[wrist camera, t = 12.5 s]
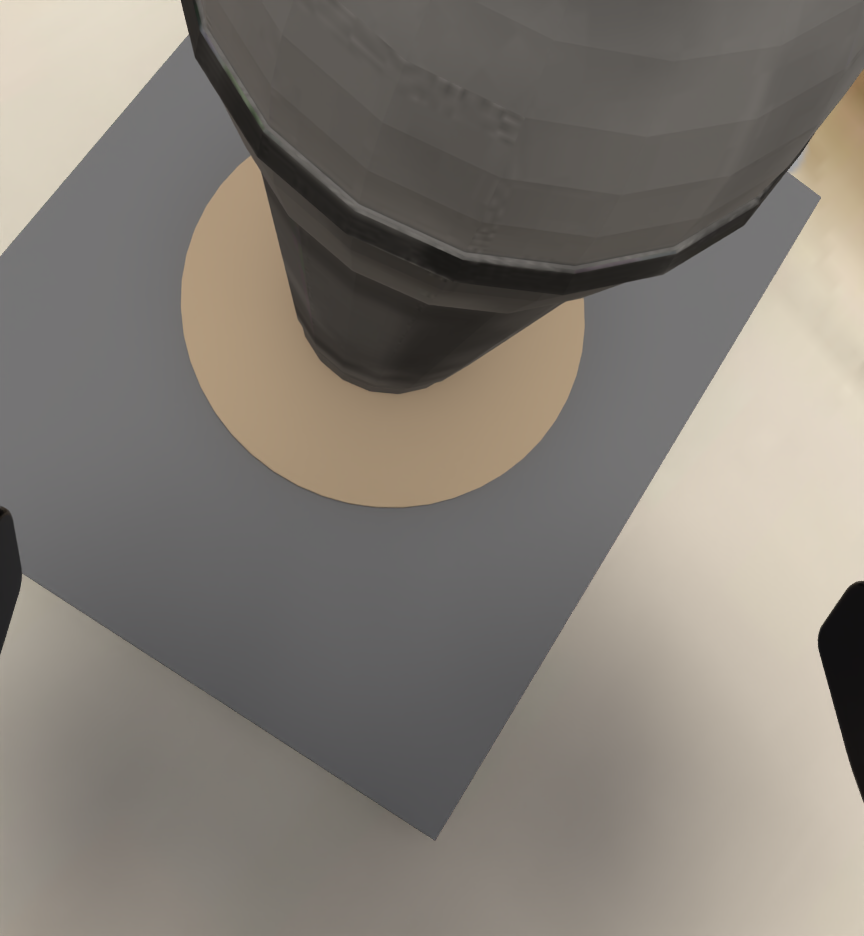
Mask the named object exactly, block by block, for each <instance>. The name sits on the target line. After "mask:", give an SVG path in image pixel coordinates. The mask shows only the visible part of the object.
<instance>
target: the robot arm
mask: <svg viewBox="0 0 864 936" xmlns="http://www.w3.org/2000/svg"><path fill="white" fill-rule="evenodd" d="M21 579H22V567H21V561H20V555H19V549H18V544H17V538H16V533H15V527H14V521H13V517H12V515H11V513H10V511H9V510H8V509H7V508H5V507H2V506H0V654H1V651H2V647H3V644H4V641H5V637H6V634H7V631H8V628H9V624H10V621H11V618H12V614H13V611H14V608H15V604H16V601H17V598H18V595H19V591H20V586H21ZM818 649H819V653H820V657H821V660H822V664H823V668H824V671H825V675H826V679H827V682H828V686H829V689H830V693H831V697H832V700H833V704H834V708H835V711H836V715H837V719H838V722H839V726H840V730H841V733H842V737H843V741H844V744H845V748H846V752H847V755H848V758H849V762H850V765H851V768H852V771H853V774H854V777H855V780H856V783H857V786H858V788H859V791H860V794H861V797H862V799H863V802H864V581H858V582H855V583H854V584H852V585H850V586H849V587H848V588H847V590H846V591H845V593H844V594H843V595H842V597H841V598H840V600H839V601H838V603H837V604H836V606H835V607H834V609H833V610H832V611H831V613H830V614H829V616H828V617H827V619H826V620H825V622H824V623H823V625H822V626H821V628H820V631H819V634H818Z"/></svg>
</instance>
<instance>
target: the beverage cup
mask: <svg viewBox="0 0 864 936" xmlns="http://www.w3.org/2000/svg"><path fill="white" fill-rule="evenodd" d="M181 3H182V7H183V11H184V16H185V20H186V24H187V28H188V32H189V36H190V40H191V44H192V48H193V52H194V56H195V59H196V60H197V62H198V64H199V65H200V67H201V68H202V70H203V71H204V73H205V75H206V76H207V78H208V79H209V81H210V83H211V84H212V86H213V87H214V89H215V91H216V92H217V94H218V95H219V97H220V99H221V100H222V102H223V104H224V106H225V108H226V110H227V112H228V114H229V116H230V118H231V120H232V122H233V124H234V126H235V127H236V129H237V131H238V133H239V135H240V137H241V139H242V141H243V143H244V145H245V147H246V148H247V150H248V152H249V153H250V155H251V156H252V158H253V160H254V161H255V163H256V164H257V166H258V168H259V169H260V171H261V174H262V178H263V182H264V186H265V190H266V194H267V198H268V202H269V206H270V210H271V214H272V218H273V222H274V226H275V230H276V234H277V238H278V242H279V246H280V250H281V254H282V258H283V262H284V266H285V270H286V274H287V278H288V282H289V286H290V291H291V295H292V299H293V303H294V307H295V311H296V315H297V319H298V321H299V322H300V324H301V326H302V327H303V331H304V335H305V337H306V339H307V340H308V342H309V343H310V345H311V347H312V348H313V350H314V351H315V353H316V355H317V356H318V358H319V359H320V361H321V362H322V363H324V364H325V365H326V366H327V367H328V368H329V369H331V370H332V371H333V372H334V373H335V374H336V375H338V376H339V377H340V378H341V379H342V380H344V381H347V382H349V383H351V384H354V385H356V386H358V387H361V388H363V389H365V390H368V391H371V392H381V393H391V394H402V393H407V392H411V391H416V390H420V389H425V388H428V387H429V386H431V385H433V384H434V383H437V382H441V381H443V380H445V379H446V378H448V377H450V376H451V375H453V374H455V373H456V372H458V371H460V370H461V369H463V368H465V367H466V366H468V365H470V364H471V363H473V362H474V361H476V360H477V359H479V358H480V357H482V356H483V355H485V354H487V353H488V352H490V351H491V350H493V349H494V348H496V347H497V346H499V345H500V344H502V343H503V342H505V341H506V340H508V339H509V338H511V337H512V336H514V335H515V334H517V333H518V332H520V331H522V330H523V329H525V328H526V327H528V326H529V325H531V324H532V323H534V322H535V321H537V320H538V319H540V318H541V317H543V316H544V315H546V314H547V313H549V312H550V311H552V310H553V309H555V308H557V307H558V306H560V305H561V304H563V303H564V302H566V301H571V300H576V299H581V298H584V297H586V296H589V295H592V294H595V293H598V292H601V291H603V290H606V289H609V288H612V287H615V286H618V285H620V284H623V283H626V282H631V281H636V280H641V279H646V278H650V277H655V276H660V275H664V274H665V273H667V272H669V271H670V270H672V269H674V268H675V267H677V266H679V265H680V264H682V263H684V262H685V261H687V260H688V259H690V258H692V257H693V256H695V255H697V254H698V253H700V252H702V251H703V250H705V249H707V248H708V247H710V246H711V245H713V244H715V243H716V242H718V241H720V240H721V239H723V238H725V237H726V236H728V235H730V234H731V233H733V232H735V231H736V230H738V229H739V228H741V227H743V226H744V225H745V224H746V223H747V222H748V220H749V219H750V218H751V216H752V215H753V214H754V213H755V211H756V210H757V209H758V208H759V206H760V205H761V204H762V202H763V201H764V200H765V199H766V197H767V196H768V195H769V194H770V192H771V191H772V190H773V189H774V187H775V186H776V185H777V183H778V182H779V181H780V180H781V178H782V177H783V176H784V175H785V173H786V172H787V171H788V169H789V168H790V167H791V166H792V164H793V163H794V162H795V161H796V159H797V158H798V157H799V156H800V154H801V153H802V151H803V150H804V148H805V147H806V145H807V144H808V142H809V141H810V139H811V138H812V136H813V135H814V133H815V132H816V130H817V129H818V128H819V127H820V125H821V124H822V123H823V121H824V120H825V119H826V118H827V116H828V115H829V114H830V113H831V111H832V110H833V109H834V107H835V106H836V105H837V104H838V102H839V101H840V100H841V99H842V97H843V96H844V95H845V94H846V92H847V91H848V89H849V88H850V87H851V85H852V84H853V83H854V81H855V80H856V78H857V77H858V76H859V74H860V73H861V71H862V70H863V69H864V0H181Z"/></svg>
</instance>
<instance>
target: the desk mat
mask: <svg viewBox="0 0 864 936" xmlns="http://www.w3.org/2000/svg"><path fill="white" fill-rule="evenodd" d="M820 199H821V197H820V196H819V195H818V194H816V193H815V192H814V191H812V190H811V189H810V188H808V187H807V186H806V185H804V184H803V183H802V182H800V181H799V180H798V179H796V178H795V177H794V176H792V175H791V174H790V173H788V172H786V173H785V175H784V176H783V177H782V178H781V180H780V181H779V182H778V183H777V185H776V186H775V187H774V189H773V190H772V191H771V192H770V194H769V195H768V196H767V197H766V199H765V200H764V201H763V202H762V204H761V205H760V206H759V208H758V209H757V210H756V211H755V213H754V214H753V215H752V216H751V218H750V219H749V220H748V222H747V223H746V224H745V225H744V226H743V227H741V228H739V229H738V230H736V231H735V232H733V233H731V234H730V235H728V236H726V237H725V238H723V239H721V240H720V241H718V242H716V243H715V244H713V245H711V246H710V247H708V248H707V249H705V250H703V251H702V252H700V253H698V254H697V255H695V256H693V257H692V258H690V259H688V260H687V261H685V262H684V263H682V264H680V265H679V266H677V267H675V268H674V269H672V270H670V271H669V272H667V273H665V274H664V275H660V276H655V277H650V278H646V279H641V280H636V281H631V282H626V283H623V284H620V285H618V286H615V287H612V288H609V289H606V290H603V291H601V292H598V293H595V294H592V295H589V296H586V297H584V298H581V299H576V300H571V301H566V302H564V303H563V304H561V305H560V306H558V307H557V308H555V309H553V310H552V311H550V312H549V313H547V314H546V315H544V316H543V317H541V318H540V319H538V320H537V321H535V322H534V323H532V324H531V325H529V326H528V327H526V328H525V329H523V330H522V331H520V332H518V333H517V334H515V335H514V336H512V337H511V338H509V339H508V340H506V341H505V342H503V343H502V344H500V345H499V346H497V347H496V348H494V349H493V350H491V351H490V352H488V353H487V354H485V355H483V356H482V357H480V358H479V359H477V360H476V361H474V362H473V363H471V364H470V365H468V366H466V367H465V368H463V369H461V370H460V371H458V372H456V373H455V374H453V375H451V376H450V377H448V378H446V379H445V380H443V381H441V382H437V383H434V384H433V385H431V386H429V387H428V388H425V389H420V390H416V391H411V392H407V393H402V394H391V393H381V392H371V391H368V390H365V389H363V388H361V387H358V386H356V385H354V384H351V383H349V382H347V381H344V380H342V379H341V378H340V377H339V376H338V375H336V374H335V373H334V372H333V371H332V370H331V369H329V368H328V367H327V366H326V365H325V364H324V363H322V362H321V361H320V359H319V358H318V356H317V355H316V353H315V351H314V350H313V348H312V347H311V345H310V343H309V342H308V340H307V339H306V337H305V335H304V331H303V327H302V326H301V324H300V322H299V321H298V319H297V315H296V311H295V307H294V303H293V299H292V295H291V291H290V286H289V282H288V278H287V274H286V270H285V266H284V262H283V258H282V254H281V250H280V246H279V242H278V238H277V234H276V230H275V226H274V222H273V218H272V214H271V210H270V206H269V202H268V198H267V194H266V190H265V186H264V182H263V178H262V174H261V171H260V169H259V168H258V166H257V164H256V163H255V161H254V160H253V158H252V156H251V155H250V153H249V152H248V150H247V148H246V147H245V145H244V143H243V141H242V139H241V137H240V135H239V133H238V131H237V129H236V127H235V126H234V124H233V122H232V120H231V118H230V116H229V114H228V112H227V110H226V108H225V106H224V104H223V102H222V100H221V99H220V97H219V95H218V94H217V92H216V91H215V89H214V87H213V86H212V84H211V83H210V81H209V79H208V78H207V76H206V75H205V73H204V71H203V70H202V68H201V67H200V65H199V64H198V62H197V60H196V59H195V56H194V52H193V48H192V44H191V40H190V36H189V35H188V36H187V37H186V38H185V39H184V41H183V42H182V43H181V44H180V45H179V46H178V48H177V49H176V50H175V51H174V52H173V54H172V55H171V56H170V57H169V58H168V59H167V61H166V62H165V63H164V64H163V65H162V67H161V68H160V69H159V70H158V71H157V72H156V74H155V75H154V76H153V77H152V78H151V79H150V81H149V82H148V83H147V84H146V85H145V87H144V88H143V89H142V90H141V91H140V92H139V94H138V95H137V96H136V97H135V98H134V99H133V101H132V102H131V103H130V104H129V105H128V107H127V108H126V109H125V110H124V111H123V112H122V114H121V115H120V116H119V117H118V118H117V120H116V121H115V122H114V123H113V124H112V125H111V127H110V128H109V129H108V130H107V131H106V132H105V134H104V135H103V136H102V137H101V138H100V140H99V141H98V142H97V143H96V144H95V145H94V147H93V148H92V149H91V150H90V151H89V152H88V154H87V155H86V156H85V157H84V158H83V160H82V161H81V162H80V163H79V164H78V165H77V167H76V168H75V169H74V170H73V171H72V173H71V174H70V175H69V176H68V177H67V178H66V180H65V181H64V182H63V183H62V184H61V185H60V187H59V188H58V189H57V190H56V191H55V193H54V194H53V195H52V196H51V197H50V198H49V200H48V201H47V202H46V203H45V204H44V206H43V207H42V208H41V209H40V210H39V211H38V213H37V214H36V215H35V216H34V217H33V218H32V220H31V221H30V222H29V223H28V224H27V226H26V227H25V228H24V229H23V230H22V231H21V233H20V234H19V235H18V236H17V237H16V238H15V240H14V241H13V242H12V243H11V244H10V246H9V247H8V248H7V249H6V250H5V251H4V253H3V254H2V255H1V256H0V506H2V507H5V508H7V509H8V510H9V511H10V513H11V515H12V517H13V521H14V527H15V533H16V538H17V544H18V549H19V555H20V561H21V567H22V574H24V575H26V576H27V577H29V578H30V579H32V580H33V581H35V582H36V583H38V584H39V585H41V586H43V587H44V588H46V589H47V590H49V591H50V592H52V593H53V594H55V595H56V596H58V597H59V598H61V599H63V600H64V601H66V602H67V603H69V604H70V605H72V606H73V607H75V608H76V609H78V610H80V611H81V612H83V613H84V614H86V615H87V616H89V617H90V618H92V619H93V620H95V621H97V622H98V623H100V624H101V625H103V626H104V627H106V628H107V629H109V630H110V631H112V632H114V633H115V634H117V635H118V636H120V637H121V638H123V639H124V640H126V641H127V642H129V643H131V644H132V645H134V646H135V647H137V648H138V649H140V650H141V651H143V652H144V653H146V654H148V655H149V656H151V657H152V658H154V659H155V660H157V661H158V662H160V663H161V664H163V665H165V666H166V667H168V668H169V669H171V670H172V671H174V672H175V673H177V674H178V675H180V676H182V677H183V678H185V679H186V680H188V681H189V682H191V683H192V684H194V685H195V686H197V687H198V688H200V689H202V690H203V691H205V692H206V693H208V694H209V695H211V696H212V697H214V698H215V699H217V700H219V701H220V702H222V703H223V704H225V705H226V706H228V707H229V708H231V709H232V710H234V711H236V712H237V713H239V714H240V715H242V716H243V717H245V718H246V719H248V720H249V721H251V722H253V723H254V724H256V725H257V726H259V727H260V728H262V729H263V730H265V731H266V732H268V733H270V734H271V735H273V736H274V737H276V738H277V739H279V740H280V741H282V742H283V743H285V744H287V745H288V746H290V747H291V748H293V749H294V750H296V751H297V752H299V753H300V754H302V755H304V756H305V757H307V758H308V759H310V760H311V761H313V762H314V763H316V764H317V765H319V766H320V767H322V768H324V769H325V770H327V771H328V772H330V773H331V774H333V775H334V776H336V777H337V778H339V779H341V780H342V781H344V782H345V783H347V784H348V785H350V786H351V787H353V788H354V789H356V790H358V791H359V792H361V793H362V794H364V795H365V796H367V797H368V798H370V799H371V800H373V801H375V802H376V803H378V804H379V805H381V806H382V807H384V808H385V809H387V810H388V811H390V812H392V813H393V814H395V815H396V816H398V817H399V818H401V819H402V820H404V821H405V822H407V823H409V824H410V825H412V826H413V827H415V828H416V829H418V830H419V831H421V832H422V833H424V834H426V835H427V836H429V837H430V838H432V839H433V840H436V839H437V837H438V835H439V834H440V832H441V830H442V829H443V827H444V825H445V824H446V822H447V820H448V819H449V817H450V815H451V814H452V812H453V810H454V809H455V807H456V805H457V804H458V802H459V800H460V799H461V797H462V795H463V794H464V792H465V790H466V789H467V787H468V785H469V784H470V782H471V780H472V779H473V777H474V775H475V774H476V772H477V770H478V769H479V767H480V765H481V764H482V762H483V760H484V759H485V757H486V755H487V754H488V752H489V750H490V749H491V747H492V745H493V744H494V742H495V740H496V739H497V737H498V735H499V734H500V732H501V730H502V729H503V727H504V725H505V724H506V722H507V720H508V719H509V717H510V715H511V714H512V712H513V710H514V709H515V707H516V705H517V704H518V702H519V700H520V699H521V697H522V695H523V694H524V692H525V690H526V689H527V687H528V685H529V684H530V682H531V680H532V679H533V677H534V675H535V674H536V672H537V670H538V669H539V667H540V665H541V664H542V662H543V660H544V659H545V657H546V655H547V654H548V652H549V650H550V649H551V647H552V645H553V644H554V642H555V640H556V639H557V637H558V635H559V634H560V632H561V630H562V629H563V627H564V625H565V624H566V622H567V620H568V619H569V617H570V615H571V614H572V612H573V610H574V609H575V607H576V605H577V604H578V602H579V600H580V599H581V597H582V595H583V594H584V592H585V590H586V589H587V587H588V585H589V584H590V582H591V580H592V579H593V577H594V575H595V574H596V572H597V570H598V569H599V567H600V565H601V564H602V562H603V560H604V559H605V557H606V555H607V554H608V552H609V550H610V549H611V547H612V545H613V544H614V542H615V540H616V539H617V537H618V535H619V534H620V532H621V530H622V529H623V527H624V525H625V524H626V522H627V520H628V519H629V517H630V515H631V514H632V512H633V510H634V509H635V507H636V505H637V504H638V502H639V500H640V499H641V497H642V495H643V494H644V492H645V490H646V489H647V487H648V485H649V484H650V482H651V480H652V479H653V477H654V475H655V474H656V472H657V470H658V469H659V467H660V465H661V464H662V462H663V460H664V459H665V457H666V455H667V454H668V452H669V450H670V449H671V447H672V445H673V444H674V442H675V440H676V439H677V437H678V435H679V434H680V432H681V430H682V429H683V427H684V425H685V424H686V422H687V420H688V419H689V417H690V415H691V414H692V412H693V410H694V409H695V407H696V405H697V404H698V402H699V400H700V399H701V397H702V395H703V394H704V392H705V390H706V389H707V387H708V385H709V384H710V382H711V380H712V379H713V377H714V375H715V374H716V372H717V370H718V369H719V367H720V365H721V364H722V362H723V360H724V359H725V357H726V355H727V354H728V352H729V350H730V349H731V347H732V345H733V344H734V342H735V340H736V339H737V337H738V335H739V334H740V332H741V330H742V329H743V327H744V325H745V324H746V322H747V320H748V319H749V317H750V315H751V314H752V312H753V310H754V309H755V307H756V305H757V304H758V302H759V300H760V299H761V297H762V295H763V294H764V292H765V290H766V289H767V287H768V285H769V284H770V282H771V280H772V279H773V277H774V275H775V274H776V272H777V270H778V269H779V267H780V265H781V264H782V262H783V260H784V259H785V257H786V255H787V254H788V252H789V250H790V249H791V247H792V245H793V244H794V242H795V240H796V239H797V237H798V235H799V234H800V232H801V230H802V229H803V227H804V225H805V224H806V222H807V220H808V219H809V217H810V215H811V214H812V212H813V210H814V209H815V207H816V205H817V204H818V202H819V200H820Z"/></svg>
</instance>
